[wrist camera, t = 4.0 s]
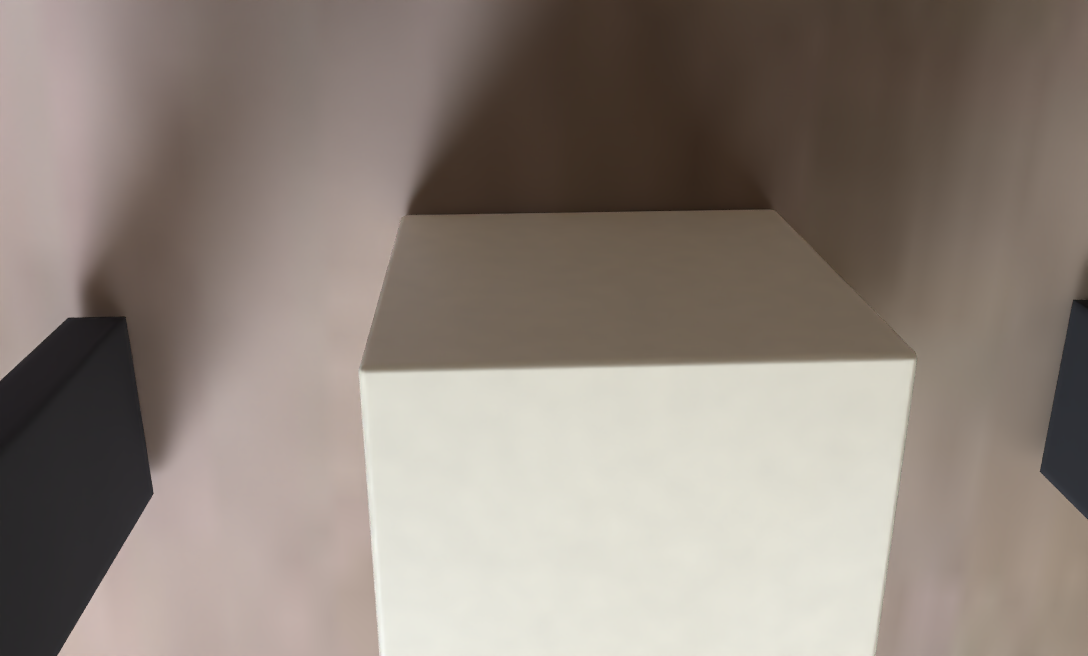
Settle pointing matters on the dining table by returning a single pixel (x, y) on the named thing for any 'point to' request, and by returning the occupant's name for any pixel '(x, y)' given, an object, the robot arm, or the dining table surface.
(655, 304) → the block
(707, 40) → the dining table surface
